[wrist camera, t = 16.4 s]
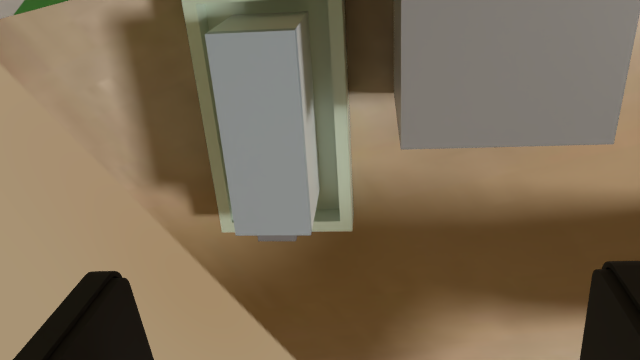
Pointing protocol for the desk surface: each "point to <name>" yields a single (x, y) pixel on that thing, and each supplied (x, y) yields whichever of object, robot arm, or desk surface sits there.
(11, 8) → the hardback book
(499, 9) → the grey rectangular box
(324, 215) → the tray
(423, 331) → the desk surface
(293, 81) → the pale grey block
